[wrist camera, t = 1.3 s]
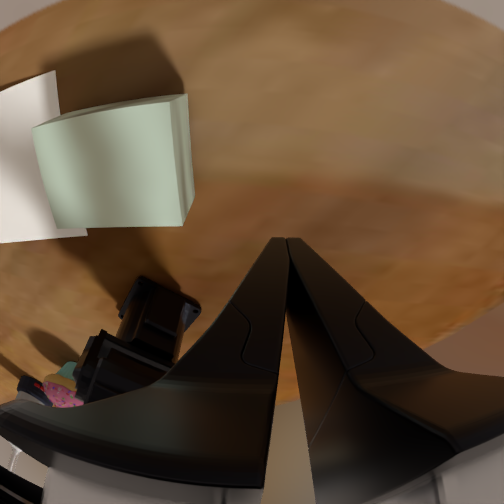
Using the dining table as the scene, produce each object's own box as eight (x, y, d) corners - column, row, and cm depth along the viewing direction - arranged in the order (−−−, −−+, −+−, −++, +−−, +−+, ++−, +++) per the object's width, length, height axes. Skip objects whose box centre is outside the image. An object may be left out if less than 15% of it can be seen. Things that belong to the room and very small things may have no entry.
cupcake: (99, 391, 40) (80, 456, 30) (52, 366, 37) (27, 430, 27) (111, 372, 36) (88, 449, 26) (57, 343, 33) (25, 418, 23)
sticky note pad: (189, 92, 17) (169, 101, 13) (196, 191, 21) (182, 226, 17) (70, 111, 17) (31, 128, 13) (87, 197, 21) (57, 228, 17)
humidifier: (47, 383, 41) (9, 499, 21) (60, 403, 46) (31, 507, 26) (15, 370, 41) (-25, 477, 20) (30, 391, 45) (-2, 488, 25)
